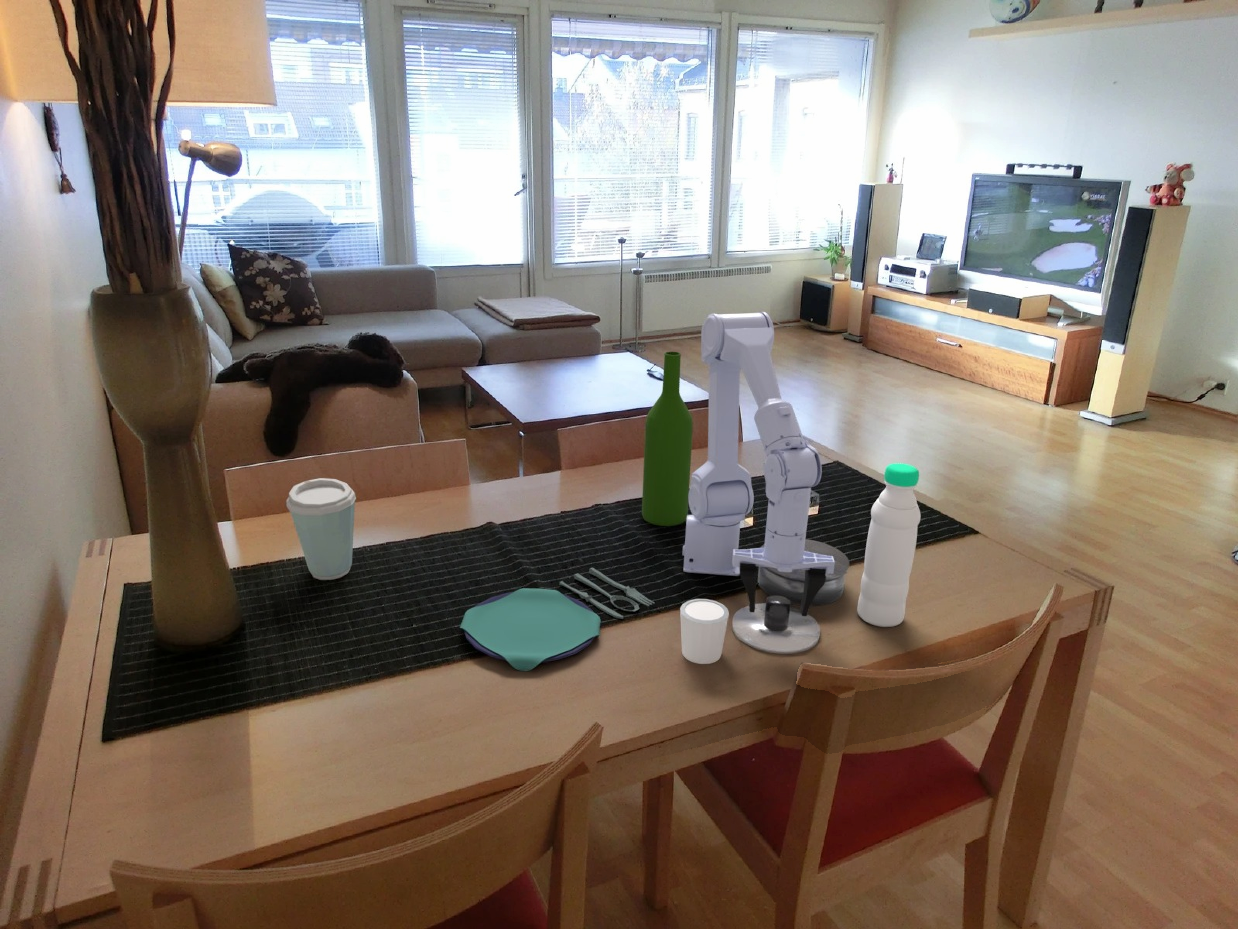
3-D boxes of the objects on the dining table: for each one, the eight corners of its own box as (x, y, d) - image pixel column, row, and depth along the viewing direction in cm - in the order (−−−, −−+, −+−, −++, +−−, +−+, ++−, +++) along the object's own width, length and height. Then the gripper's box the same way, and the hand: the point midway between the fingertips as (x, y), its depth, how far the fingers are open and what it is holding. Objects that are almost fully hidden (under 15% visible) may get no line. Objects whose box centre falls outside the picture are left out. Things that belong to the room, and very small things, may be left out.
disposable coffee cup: (375, 572, 142) (368, 488, 137) (315, 594, 135) (305, 507, 130) (341, 551, 149) (333, 471, 144) (282, 571, 142) (272, 488, 136)
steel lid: (732, 651, 124) (735, 620, 122) (731, 606, 136) (733, 577, 134) (823, 659, 122) (828, 627, 121) (814, 613, 135) (817, 584, 133)
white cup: (712, 672, 118) (715, 628, 116) (668, 656, 121) (671, 613, 119) (733, 649, 124) (737, 607, 121) (691, 635, 127) (693, 593, 124)
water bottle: (878, 633, 129) (902, 478, 120) (846, 611, 135) (867, 462, 126) (913, 622, 132) (938, 471, 123) (880, 602, 138) (902, 456, 129)
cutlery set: (436, 629, 127) (436, 615, 126) (586, 570, 147) (587, 558, 146) (519, 690, 114) (519, 675, 113) (672, 616, 133) (673, 603, 133)
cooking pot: (757, 603, 136) (759, 575, 135) (753, 561, 150) (755, 535, 148) (851, 610, 135) (855, 582, 133) (839, 567, 149) (842, 541, 147)
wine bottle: (695, 514, 168) (705, 352, 157) (673, 530, 161) (682, 361, 150) (656, 504, 173) (663, 345, 161) (633, 518, 166) (639, 354, 154)
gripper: (736, 536, 120) (729, 620, 125) (841, 543, 119) (830, 628, 123) (735, 516, 127) (728, 597, 131) (834, 522, 125) (824, 604, 130)
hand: (777, 611), depth 128 cm, fingers open, 7 cm apart
